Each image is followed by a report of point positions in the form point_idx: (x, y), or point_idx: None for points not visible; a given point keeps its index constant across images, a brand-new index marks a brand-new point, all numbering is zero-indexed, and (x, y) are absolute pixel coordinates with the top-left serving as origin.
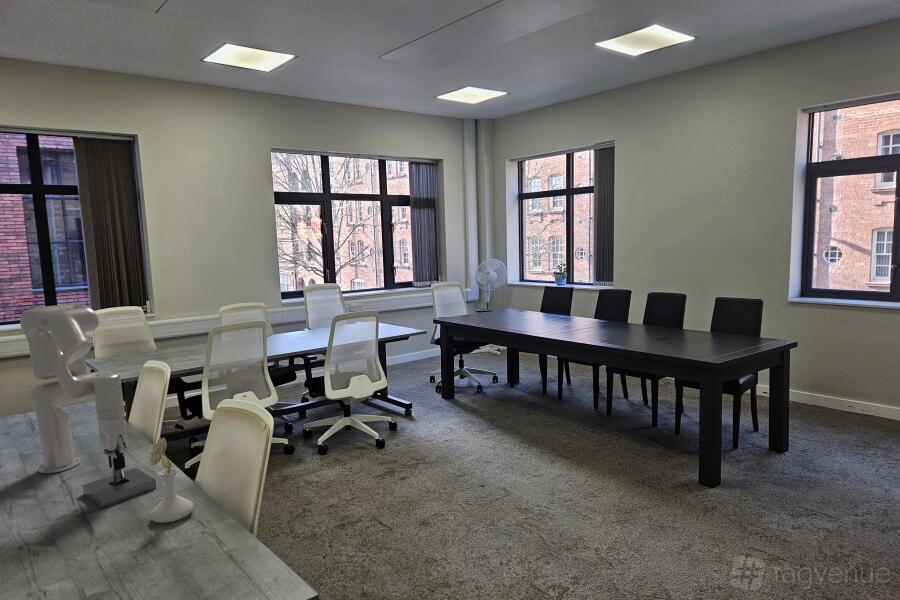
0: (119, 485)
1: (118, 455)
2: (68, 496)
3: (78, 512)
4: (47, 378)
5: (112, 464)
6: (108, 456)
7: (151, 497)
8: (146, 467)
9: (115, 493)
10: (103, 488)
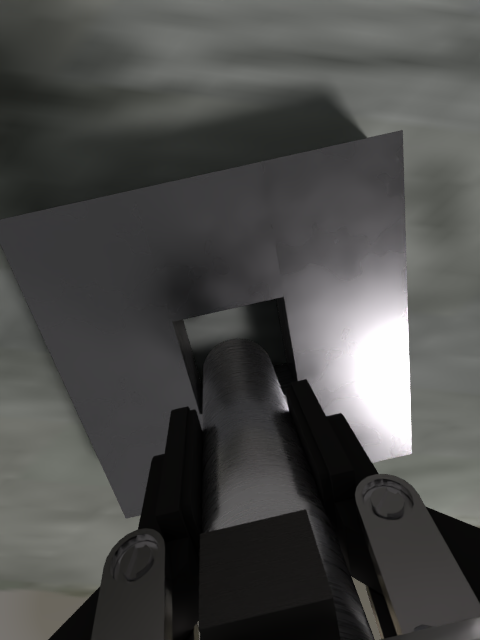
0: (173, 354)
1: (65, 632)
2: (420, 37)
3: (47, 63)
4: None
5: (231, 430)
6: (343, 469)
7: (18, 446)
8: (458, 465)
9: (36, 318)
10: (200, 261)
